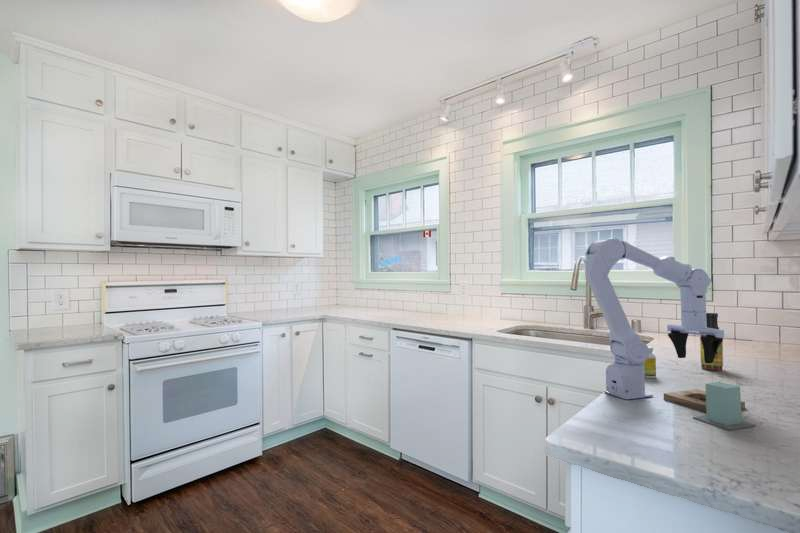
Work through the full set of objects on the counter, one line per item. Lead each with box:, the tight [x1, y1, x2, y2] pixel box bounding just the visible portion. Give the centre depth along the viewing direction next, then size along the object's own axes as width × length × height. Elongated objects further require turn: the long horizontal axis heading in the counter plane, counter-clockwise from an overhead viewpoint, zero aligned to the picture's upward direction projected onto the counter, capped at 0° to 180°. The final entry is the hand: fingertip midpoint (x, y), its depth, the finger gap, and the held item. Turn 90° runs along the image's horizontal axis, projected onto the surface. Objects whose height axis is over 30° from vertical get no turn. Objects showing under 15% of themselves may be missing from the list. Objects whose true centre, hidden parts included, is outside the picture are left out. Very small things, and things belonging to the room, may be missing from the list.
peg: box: [705, 381, 742, 425], centre depth 91 cm, size 4×4×8 cm
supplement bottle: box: [644, 345, 657, 379], centre depth 132 cm, size 5×5×10 cm
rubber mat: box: [692, 414, 757, 431], centre depth 90 cm, size 8×8×1 cm
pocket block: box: [663, 388, 746, 413], centre depth 104 cm, size 12×12×2 cm
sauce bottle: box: [699, 312, 724, 371], centre depth 142 cm, size 7×6×20 cm
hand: (695, 360), depth 112 cm, fingers open, 7 cm apart
